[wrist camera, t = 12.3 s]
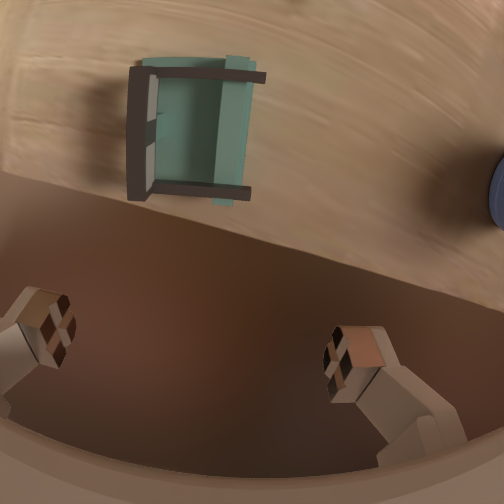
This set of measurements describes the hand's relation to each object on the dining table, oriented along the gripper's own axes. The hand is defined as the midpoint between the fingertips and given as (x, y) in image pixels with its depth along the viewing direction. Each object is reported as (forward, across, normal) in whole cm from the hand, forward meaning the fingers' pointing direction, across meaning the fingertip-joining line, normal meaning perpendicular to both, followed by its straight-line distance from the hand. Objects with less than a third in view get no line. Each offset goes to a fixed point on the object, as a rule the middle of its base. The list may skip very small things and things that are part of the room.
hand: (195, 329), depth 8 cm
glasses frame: (+26, +4, -1) cm, 27 cm away
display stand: (+31, +5, -1) cm, 32 cm away
